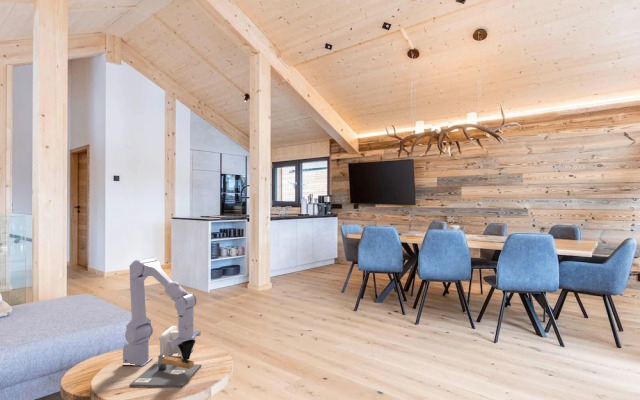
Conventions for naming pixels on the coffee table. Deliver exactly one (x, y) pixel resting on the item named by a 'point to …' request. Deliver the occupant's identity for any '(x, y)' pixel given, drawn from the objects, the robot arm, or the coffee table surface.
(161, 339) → the white notched block
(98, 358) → the coffee table surface
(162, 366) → the bar
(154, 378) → the panel
